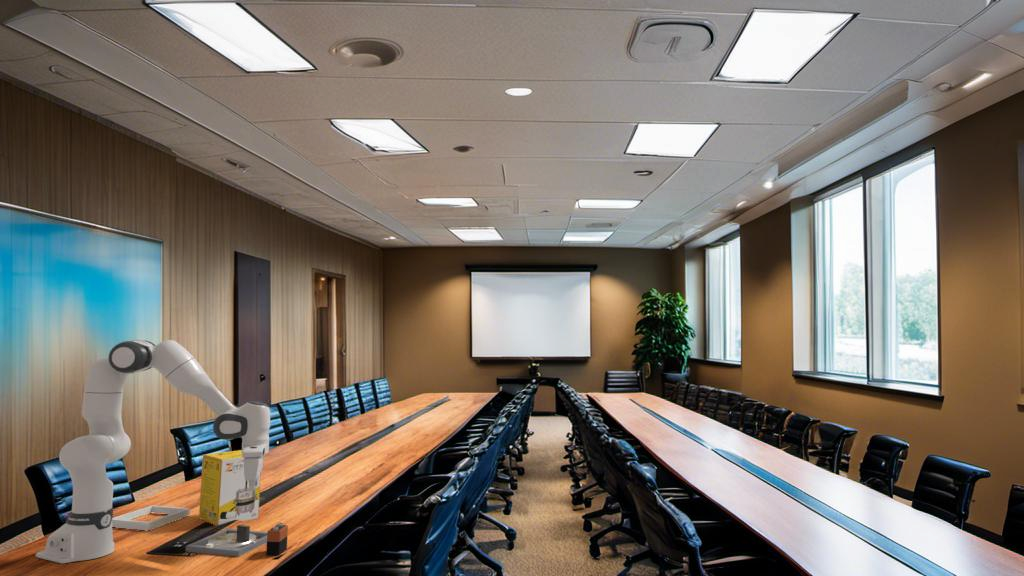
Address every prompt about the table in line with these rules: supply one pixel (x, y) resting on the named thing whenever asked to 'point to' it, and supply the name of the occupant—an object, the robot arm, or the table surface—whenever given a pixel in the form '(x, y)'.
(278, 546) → the battery
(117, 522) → the light grey rectangular frame
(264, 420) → the robot arm
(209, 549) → the panel
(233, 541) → the dial
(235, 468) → the packaging box
